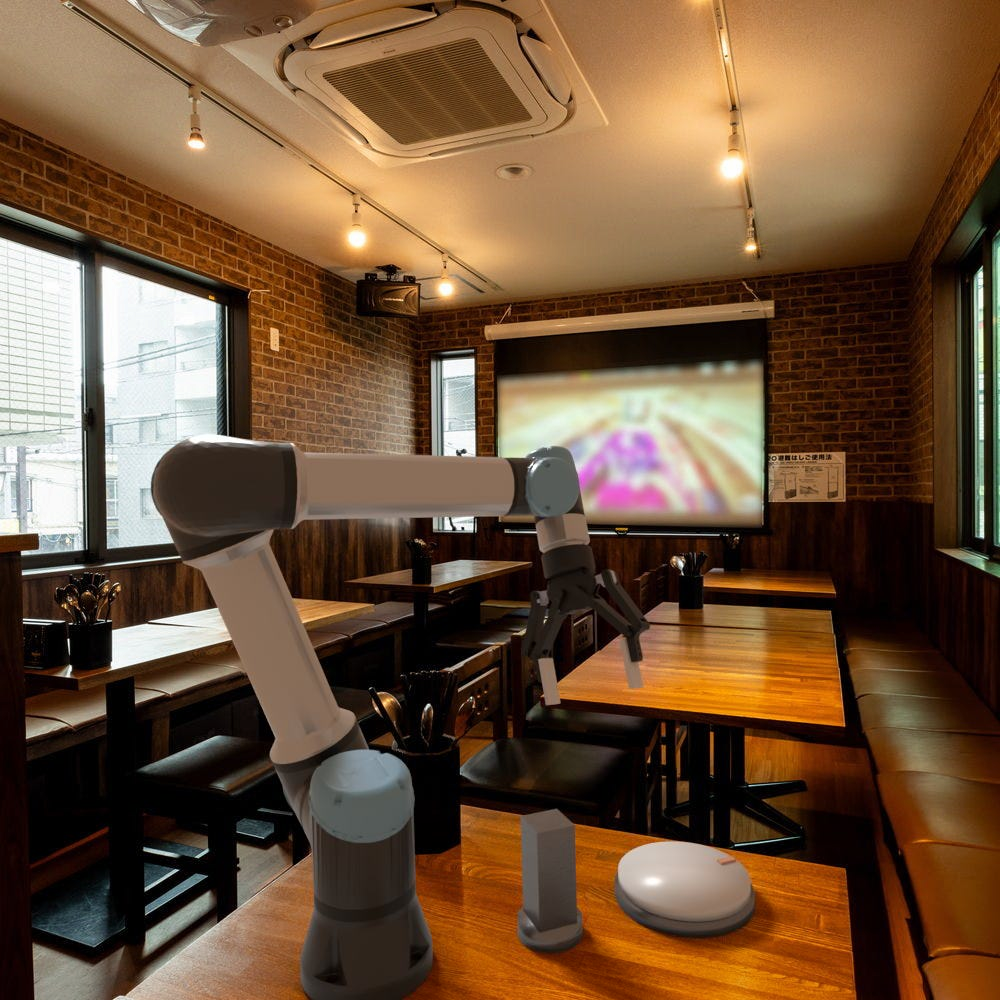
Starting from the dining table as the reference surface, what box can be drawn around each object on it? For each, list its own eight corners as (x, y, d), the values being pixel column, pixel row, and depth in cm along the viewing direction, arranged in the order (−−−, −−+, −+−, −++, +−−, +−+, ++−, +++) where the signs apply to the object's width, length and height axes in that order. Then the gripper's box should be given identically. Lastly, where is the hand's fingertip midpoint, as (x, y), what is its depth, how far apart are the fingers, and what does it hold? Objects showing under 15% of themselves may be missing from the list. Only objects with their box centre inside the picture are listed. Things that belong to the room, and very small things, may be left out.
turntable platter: (665, 935, 88) (664, 920, 88) (595, 867, 104) (595, 854, 103) (779, 902, 94) (779, 888, 94) (697, 842, 110) (697, 830, 110)
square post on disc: (533, 960, 86) (530, 841, 86) (508, 922, 94) (505, 813, 94) (594, 943, 89) (591, 828, 89) (565, 908, 97) (562, 801, 96)
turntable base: (664, 953, 87) (663, 940, 87) (591, 878, 104) (590, 867, 104) (785, 916, 94) (785, 904, 94) (698, 851, 110) (698, 841, 110)
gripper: (652, 528, 105) (687, 680, 99) (514, 572, 119) (536, 708, 113) (627, 521, 100) (662, 681, 93) (484, 569, 113) (506, 711, 107)
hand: (593, 696), depth 103 cm, fingers open, 13 cm apart
